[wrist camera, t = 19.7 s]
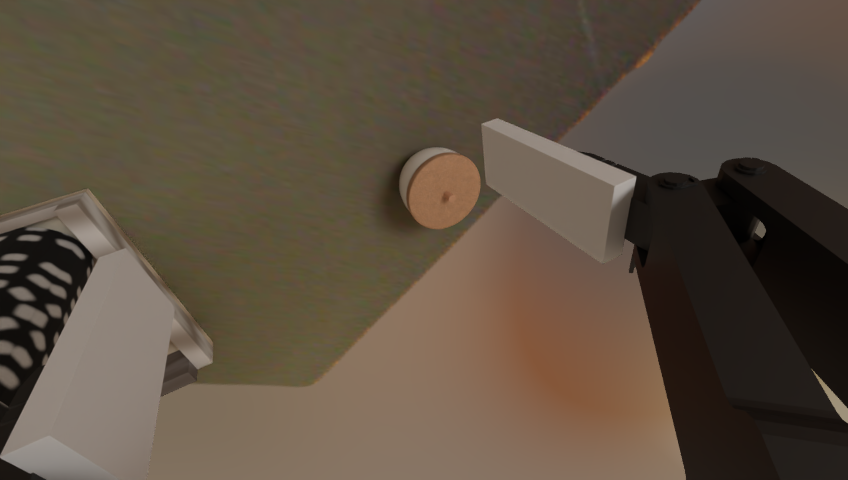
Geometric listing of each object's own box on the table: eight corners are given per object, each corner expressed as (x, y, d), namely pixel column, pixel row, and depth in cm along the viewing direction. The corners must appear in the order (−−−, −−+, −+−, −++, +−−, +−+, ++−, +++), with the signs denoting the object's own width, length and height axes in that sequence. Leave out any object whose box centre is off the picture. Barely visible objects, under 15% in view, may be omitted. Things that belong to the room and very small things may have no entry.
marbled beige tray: (-75, 237, 36) (-119, 272, 31) (88, 188, 39) (69, 212, 34) (108, 387, 51) (96, 425, 46) (213, 342, 54) (212, 373, 50)
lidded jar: (398, 131, 50) (427, 152, 43) (463, 143, 56) (498, 164, 48) (381, 203, 55) (405, 233, 48) (442, 208, 60) (472, 236, 53)
